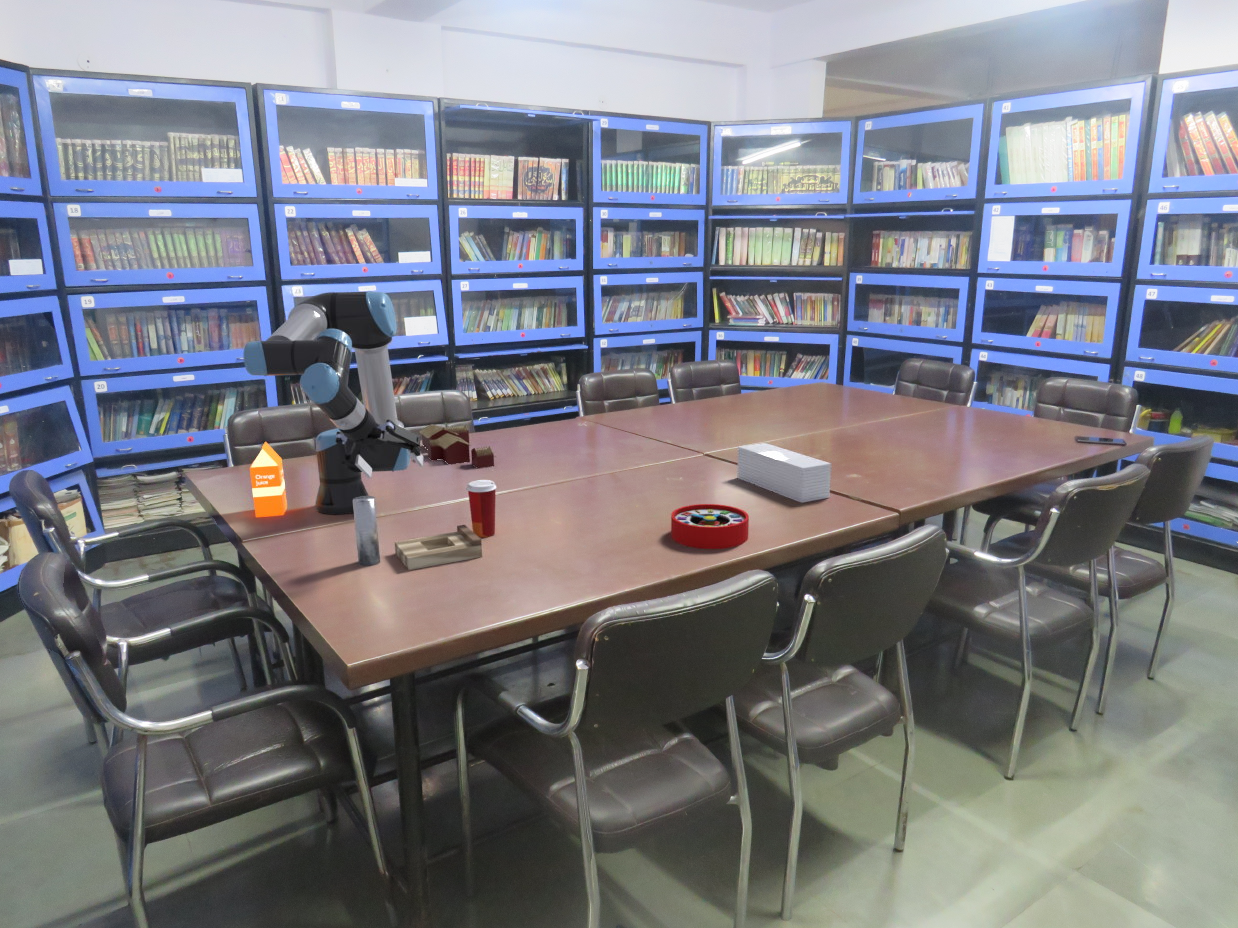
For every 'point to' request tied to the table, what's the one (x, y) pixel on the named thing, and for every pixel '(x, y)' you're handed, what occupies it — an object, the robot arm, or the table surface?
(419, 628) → the table surface
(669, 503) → the table surface
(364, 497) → the brushed metal cylinder
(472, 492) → the paper cup
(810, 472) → the stack of papers
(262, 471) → the orange juice
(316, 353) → the robot arm
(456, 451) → the toy houses
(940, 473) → the table surface
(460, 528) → the frame
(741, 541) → the toy clock
